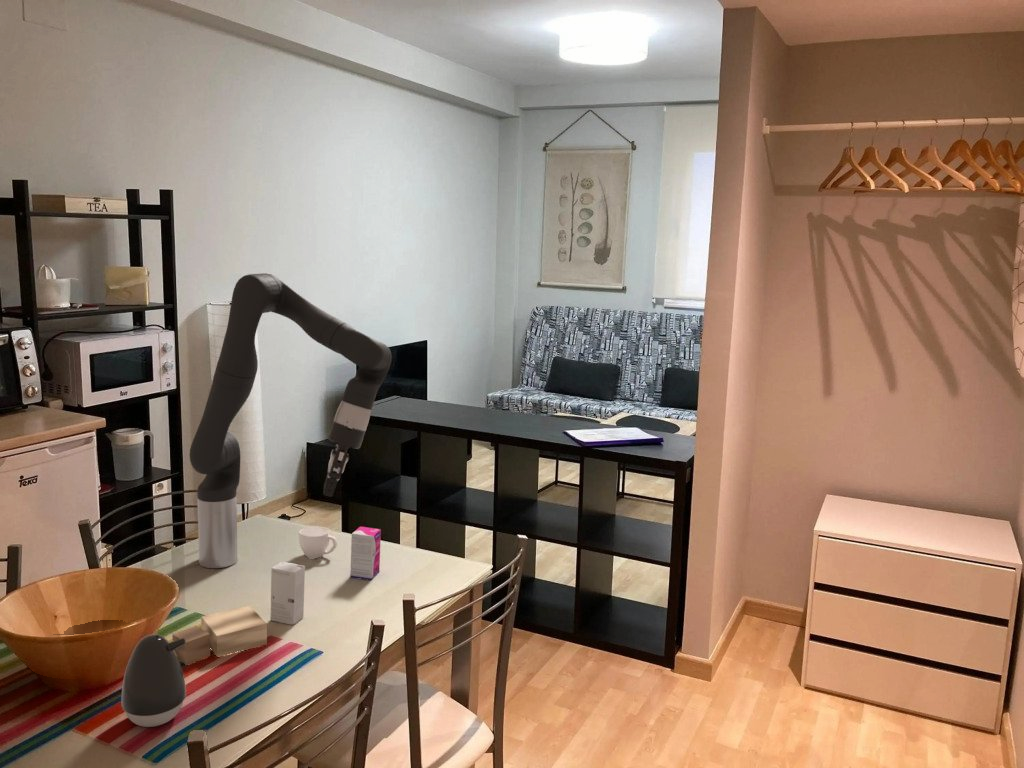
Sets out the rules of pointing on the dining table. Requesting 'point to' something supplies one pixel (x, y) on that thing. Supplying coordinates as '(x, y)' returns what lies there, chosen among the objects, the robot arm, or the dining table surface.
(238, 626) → the beech block
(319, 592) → the dining table surface
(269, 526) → the dining table surface
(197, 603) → the dining table surface
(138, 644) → the pump dispenser
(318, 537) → the cup
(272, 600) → the skincare box
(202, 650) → the tan wooden cube
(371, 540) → the supplement box
